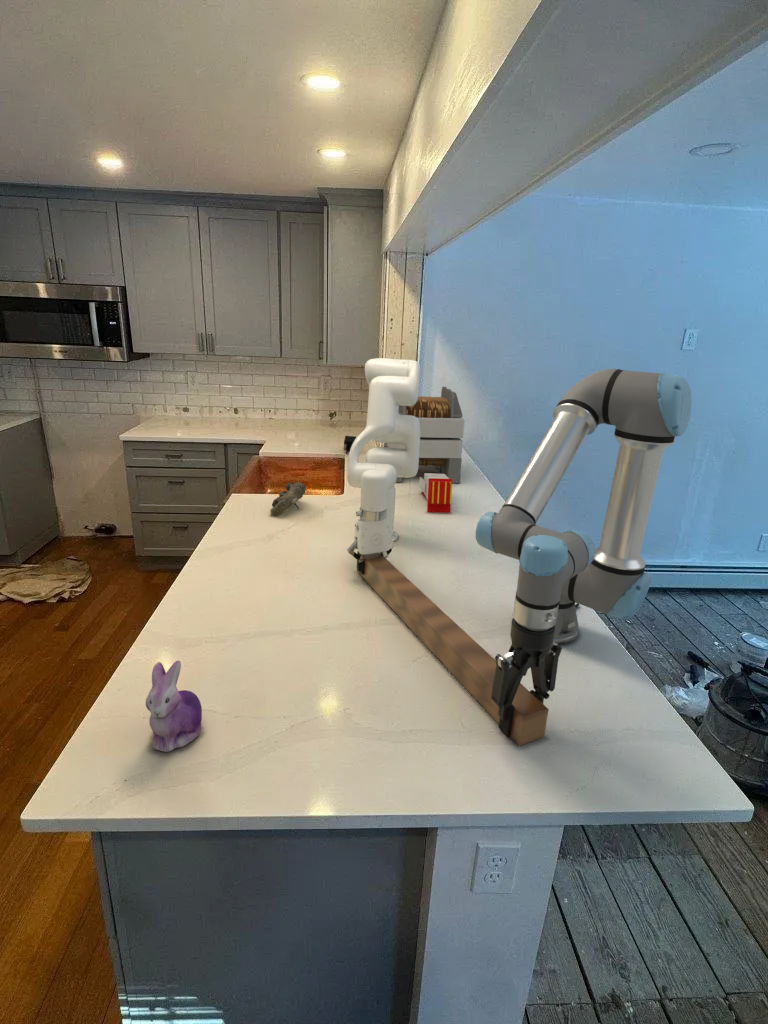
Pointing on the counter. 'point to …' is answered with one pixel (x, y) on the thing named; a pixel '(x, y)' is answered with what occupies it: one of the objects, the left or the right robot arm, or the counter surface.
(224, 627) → the counter surface
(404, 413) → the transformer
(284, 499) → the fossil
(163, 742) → the figurine
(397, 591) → the post
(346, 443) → the figurine character
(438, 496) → the toy
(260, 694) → the counter surface
